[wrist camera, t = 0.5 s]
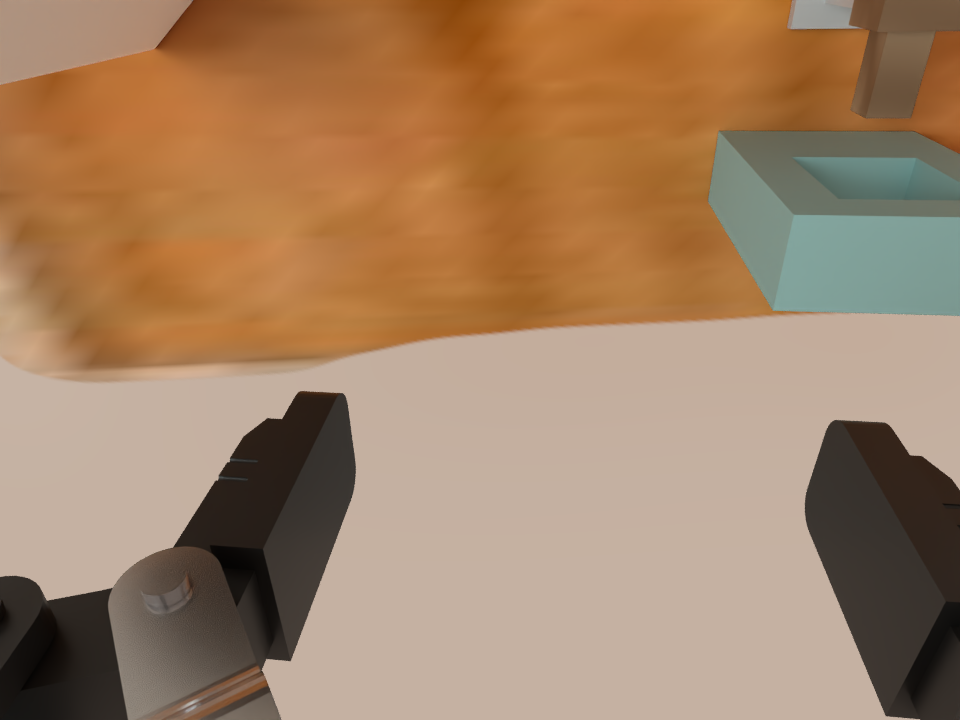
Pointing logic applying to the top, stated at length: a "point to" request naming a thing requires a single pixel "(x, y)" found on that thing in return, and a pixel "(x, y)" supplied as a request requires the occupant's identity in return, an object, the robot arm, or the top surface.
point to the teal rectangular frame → (843, 218)
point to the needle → (897, 51)
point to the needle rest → (820, 14)
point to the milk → (78, 32)
